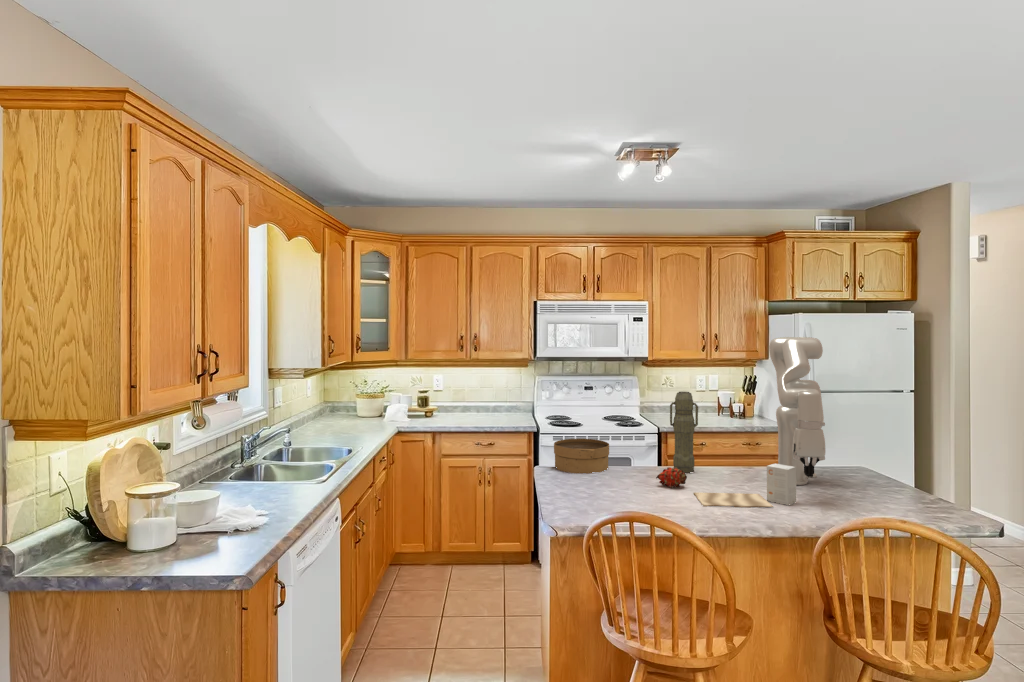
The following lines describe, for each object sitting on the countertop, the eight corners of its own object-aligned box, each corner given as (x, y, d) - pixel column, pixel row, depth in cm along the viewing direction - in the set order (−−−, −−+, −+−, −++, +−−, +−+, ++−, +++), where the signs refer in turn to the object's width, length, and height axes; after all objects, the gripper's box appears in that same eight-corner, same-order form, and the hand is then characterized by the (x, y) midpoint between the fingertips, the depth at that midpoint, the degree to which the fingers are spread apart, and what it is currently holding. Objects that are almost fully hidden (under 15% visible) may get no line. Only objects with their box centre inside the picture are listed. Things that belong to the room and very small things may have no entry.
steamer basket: (605, 475, 258) (604, 449, 258) (548, 472, 265) (548, 446, 265) (613, 463, 281) (612, 439, 281) (560, 461, 289) (560, 437, 289)
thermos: (699, 473, 260) (699, 393, 259) (671, 473, 261) (671, 393, 261) (695, 469, 269) (696, 391, 268) (668, 468, 270) (669, 390, 269)
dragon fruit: (689, 492, 237) (658, 494, 240) (687, 475, 243) (656, 478, 246) (687, 478, 232) (655, 480, 235) (684, 461, 239) (654, 464, 242)
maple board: (758, 495, 226) (758, 493, 226) (773, 507, 210) (773, 506, 210) (693, 494, 228) (693, 492, 228) (703, 506, 213) (703, 504, 213)
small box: (796, 502, 217) (796, 466, 216) (788, 506, 213) (788, 469, 212) (774, 497, 223) (775, 463, 223) (766, 501, 219) (766, 465, 219)
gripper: (826, 423, 220) (825, 473, 220) (784, 423, 221) (783, 473, 221) (835, 427, 212) (835, 479, 212) (791, 426, 213) (791, 478, 214)
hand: (809, 475), depth 217 cm, fingers closed
